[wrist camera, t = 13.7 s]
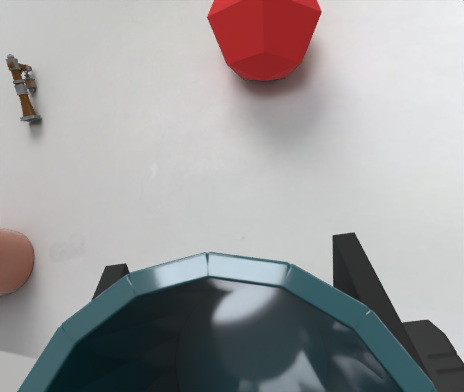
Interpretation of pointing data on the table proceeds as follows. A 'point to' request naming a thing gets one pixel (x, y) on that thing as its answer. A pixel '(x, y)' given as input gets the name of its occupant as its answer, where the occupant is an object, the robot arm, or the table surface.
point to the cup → (224, 335)
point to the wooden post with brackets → (23, 87)
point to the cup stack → (14, 260)
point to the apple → (263, 35)
